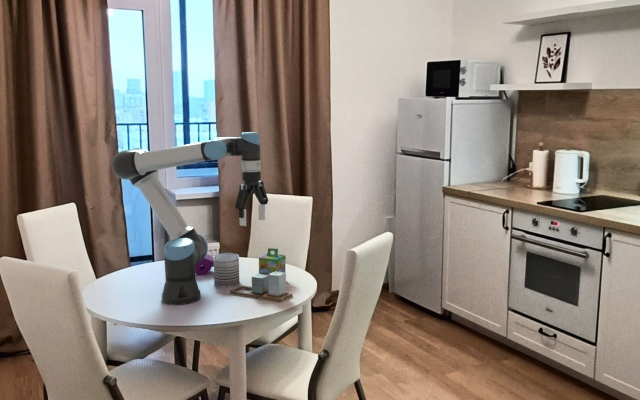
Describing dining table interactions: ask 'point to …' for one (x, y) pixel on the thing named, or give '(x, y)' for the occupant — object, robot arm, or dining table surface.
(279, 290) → the grey square block
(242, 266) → the dining table surface
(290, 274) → the dining table surface
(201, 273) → the mounting bracket
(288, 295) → the wooden ladder rack
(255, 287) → the gray square block
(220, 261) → the can
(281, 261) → the chalk box
